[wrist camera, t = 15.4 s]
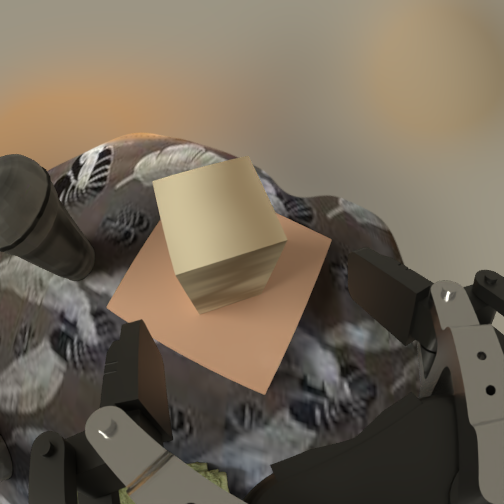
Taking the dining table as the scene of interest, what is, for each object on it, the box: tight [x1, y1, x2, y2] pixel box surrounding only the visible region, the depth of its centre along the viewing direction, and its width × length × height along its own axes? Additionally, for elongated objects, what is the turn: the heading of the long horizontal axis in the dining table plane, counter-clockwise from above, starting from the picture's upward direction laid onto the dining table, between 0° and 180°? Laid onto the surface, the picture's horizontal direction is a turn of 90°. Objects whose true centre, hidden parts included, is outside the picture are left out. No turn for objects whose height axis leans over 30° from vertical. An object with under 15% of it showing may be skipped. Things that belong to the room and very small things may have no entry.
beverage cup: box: [0, 154, 95, 281], centre depth 16 cm, size 7×7×20 cm
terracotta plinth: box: [106, 213, 332, 395], centre depth 23 cm, size 14×14×4 cm
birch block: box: [153, 156, 287, 314], centre depth 17 cm, size 5×5×10 cm
